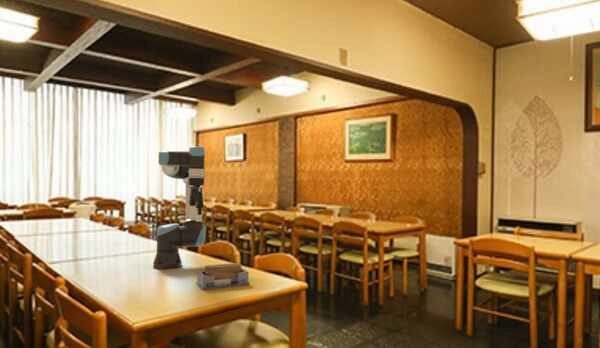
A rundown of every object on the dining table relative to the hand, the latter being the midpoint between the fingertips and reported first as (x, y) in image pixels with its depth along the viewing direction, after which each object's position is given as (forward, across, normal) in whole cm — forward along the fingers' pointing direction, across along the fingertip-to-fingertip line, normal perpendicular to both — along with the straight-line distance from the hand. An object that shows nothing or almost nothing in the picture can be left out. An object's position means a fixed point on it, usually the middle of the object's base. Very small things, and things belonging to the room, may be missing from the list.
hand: (195, 220), depth 198 cm
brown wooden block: (+26, +18, +9) cm, 33 cm away
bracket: (+29, +18, +9) cm, 35 cm away
